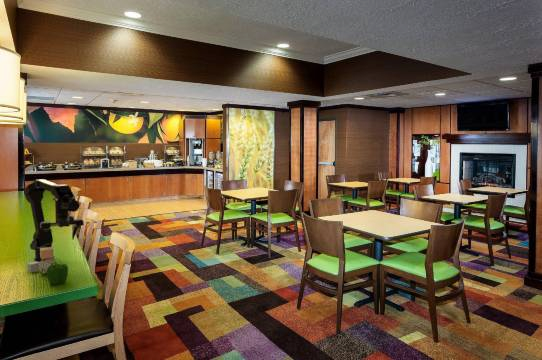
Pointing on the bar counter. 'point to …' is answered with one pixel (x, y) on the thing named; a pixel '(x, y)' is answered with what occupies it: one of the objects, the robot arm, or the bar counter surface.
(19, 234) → the bar counter surface
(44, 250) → the terracotta block
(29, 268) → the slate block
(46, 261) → the game die
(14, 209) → the bar counter surface
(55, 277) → the bell pepper
